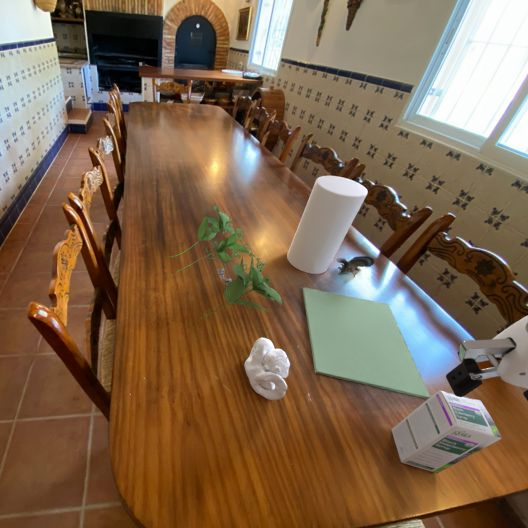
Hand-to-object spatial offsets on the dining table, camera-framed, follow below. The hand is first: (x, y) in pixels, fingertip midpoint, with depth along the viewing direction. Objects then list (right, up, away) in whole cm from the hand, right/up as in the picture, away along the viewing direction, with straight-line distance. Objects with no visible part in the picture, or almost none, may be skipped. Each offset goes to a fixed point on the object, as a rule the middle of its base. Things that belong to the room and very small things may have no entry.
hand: (491, 395), depth 40 cm
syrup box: (-1, -15, +12) cm, 19 cm away
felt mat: (0, +1, +31) cm, 31 cm away
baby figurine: (-25, -5, +21) cm, 33 cm away
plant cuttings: (-33, +10, +39) cm, 52 cm away
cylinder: (-2, +19, +52) cm, 56 cm away
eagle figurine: (+10, +15, +49) cm, 52 cm away
